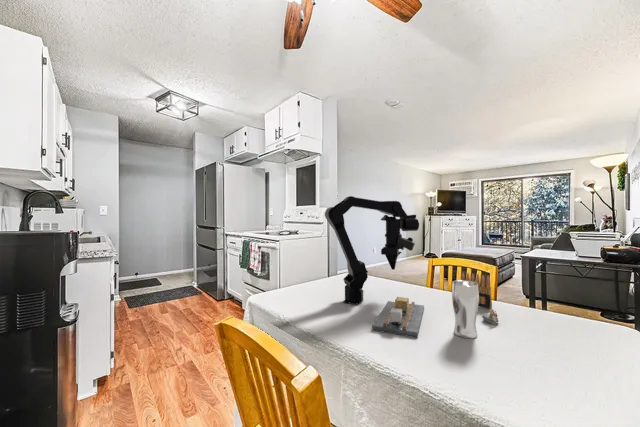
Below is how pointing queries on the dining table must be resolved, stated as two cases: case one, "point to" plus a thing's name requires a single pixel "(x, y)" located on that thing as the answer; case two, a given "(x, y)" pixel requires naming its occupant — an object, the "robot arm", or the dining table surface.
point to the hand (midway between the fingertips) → (393, 269)
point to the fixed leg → (396, 315)
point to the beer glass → (465, 308)
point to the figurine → (490, 316)
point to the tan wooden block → (402, 303)
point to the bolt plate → (406, 326)
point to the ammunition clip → (486, 290)
